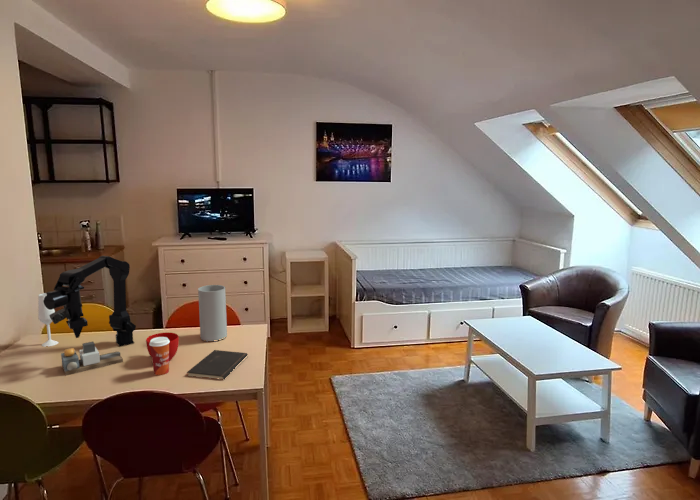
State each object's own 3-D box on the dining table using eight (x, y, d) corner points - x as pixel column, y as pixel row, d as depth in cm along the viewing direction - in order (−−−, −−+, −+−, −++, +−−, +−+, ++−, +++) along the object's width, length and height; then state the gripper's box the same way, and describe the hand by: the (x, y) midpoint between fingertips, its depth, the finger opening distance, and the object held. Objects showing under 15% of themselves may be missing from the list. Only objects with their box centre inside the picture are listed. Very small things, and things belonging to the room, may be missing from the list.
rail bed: (117, 354, 202) (116, 341, 201) (123, 361, 194) (121, 348, 193) (62, 366, 189) (60, 353, 188) (65, 375, 181) (64, 361, 180)
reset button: (73, 352, 188) (73, 347, 188) (75, 354, 185) (74, 350, 185) (63, 354, 186) (63, 349, 186) (65, 357, 183) (64, 352, 183)
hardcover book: (187, 377, 182) (186, 372, 182) (214, 354, 205) (214, 349, 204) (223, 381, 179) (223, 376, 179) (247, 357, 202) (247, 353, 201)
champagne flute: (61, 341, 216) (56, 292, 212) (53, 346, 210) (47, 296, 205) (47, 341, 216) (41, 292, 212) (38, 346, 210) (32, 296, 205)
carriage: (96, 356, 196) (94, 339, 194) (100, 362, 190) (98, 344, 188) (80, 359, 192) (78, 342, 191) (83, 366, 186) (81, 348, 185)
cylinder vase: (222, 342, 217) (220, 291, 213) (196, 342, 217) (194, 291, 213) (230, 333, 230) (228, 285, 225) (205, 332, 230) (203, 284, 225)
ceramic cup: (163, 349, 209) (162, 328, 207) (185, 358, 199) (184, 336, 197) (136, 358, 198) (134, 336, 196) (158, 368, 189) (157, 345, 187)
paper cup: (159, 378, 180) (156, 344, 178) (147, 373, 184) (144, 340, 182) (175, 370, 187) (173, 338, 184) (164, 366, 191) (161, 334, 188)
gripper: (46, 300, 189) (51, 335, 192) (52, 312, 175) (58, 350, 178) (77, 295, 196) (81, 329, 199) (85, 306, 182) (90, 342, 185)
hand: (77, 337), depth 190 cm, fingers closed
